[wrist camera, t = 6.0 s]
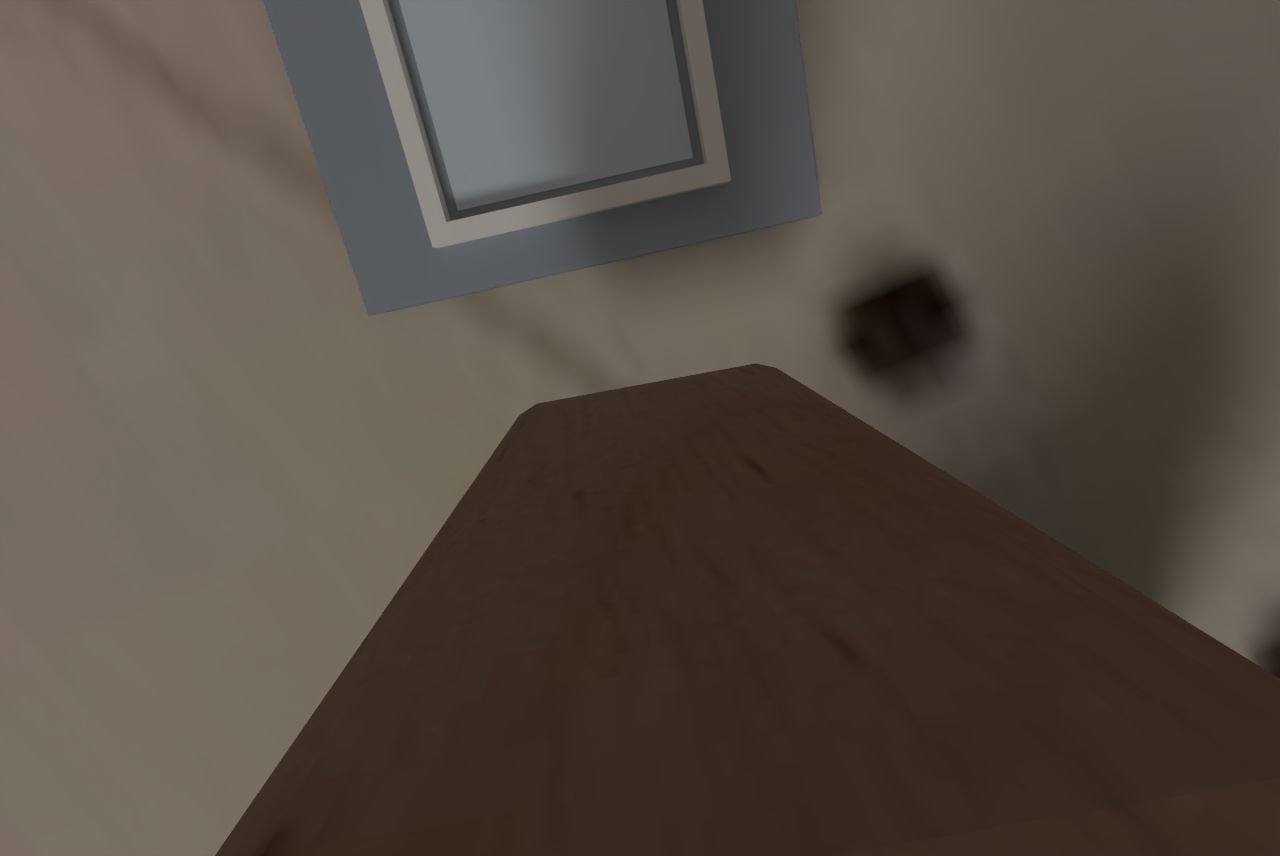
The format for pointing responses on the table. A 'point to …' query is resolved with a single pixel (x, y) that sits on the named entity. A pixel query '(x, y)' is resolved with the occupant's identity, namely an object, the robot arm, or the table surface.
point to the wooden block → (765, 663)
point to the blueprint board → (545, 132)
